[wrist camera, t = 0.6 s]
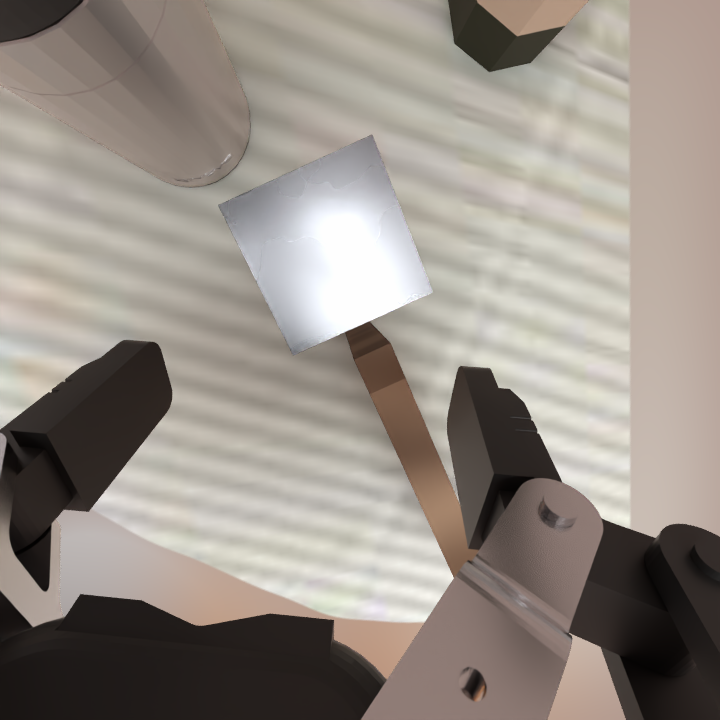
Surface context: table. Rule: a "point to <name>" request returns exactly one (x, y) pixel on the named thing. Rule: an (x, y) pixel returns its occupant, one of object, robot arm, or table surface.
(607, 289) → the table surface
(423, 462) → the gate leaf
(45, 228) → the table surface
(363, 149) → the gate post
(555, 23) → the wine bottle
